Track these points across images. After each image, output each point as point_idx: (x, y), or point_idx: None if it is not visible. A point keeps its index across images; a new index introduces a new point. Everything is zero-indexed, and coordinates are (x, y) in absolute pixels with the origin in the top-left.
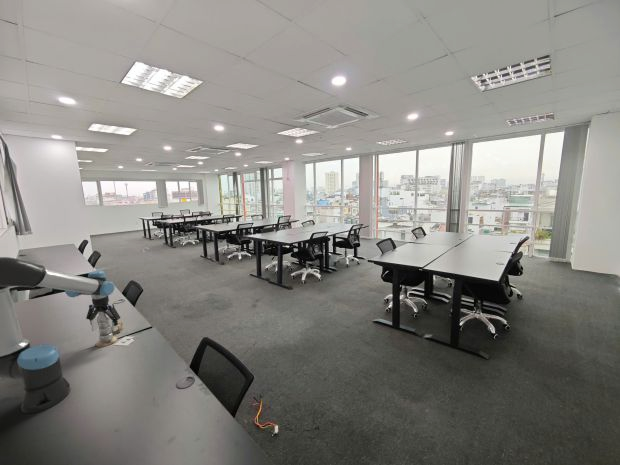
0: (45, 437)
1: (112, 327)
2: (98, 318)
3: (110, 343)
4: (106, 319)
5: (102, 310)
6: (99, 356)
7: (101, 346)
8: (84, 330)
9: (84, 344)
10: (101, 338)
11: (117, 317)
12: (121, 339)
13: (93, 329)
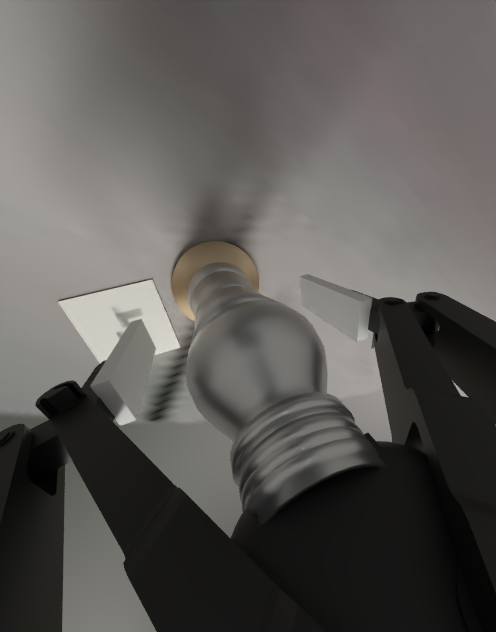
0: None
1: (130, 337)
2: (271, 335)
3: (173, 279)
4: (187, 375)
5: (252, 602)
6: (80, 158)
7: (195, 246)
8: None
9: (303, 236)
10: (214, 266)
11: (38, 471)
12: (168, 325)
13: (304, 280)
